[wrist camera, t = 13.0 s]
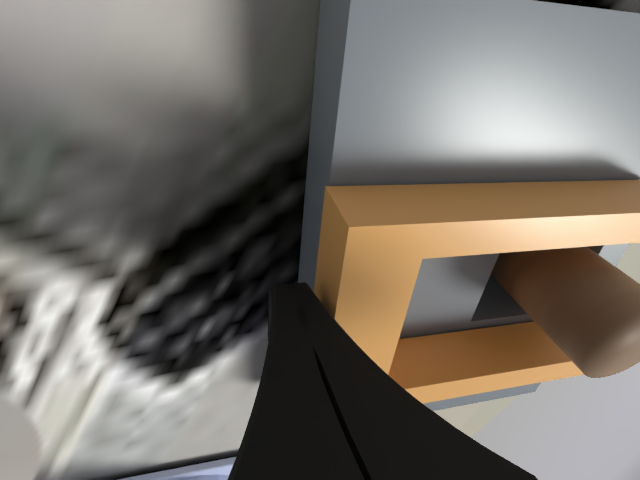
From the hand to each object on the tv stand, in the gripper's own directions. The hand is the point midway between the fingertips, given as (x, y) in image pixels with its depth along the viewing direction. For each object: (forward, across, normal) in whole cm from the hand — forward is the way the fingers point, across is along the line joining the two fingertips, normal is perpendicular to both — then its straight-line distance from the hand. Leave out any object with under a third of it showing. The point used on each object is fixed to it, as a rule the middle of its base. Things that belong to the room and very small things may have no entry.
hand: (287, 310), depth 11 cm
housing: (+3, -7, 0) cm, 8 cm away
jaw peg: (+3, -10, 0) cm, 10 cm away
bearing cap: (+1, -6, 0) cm, 6 cm away
